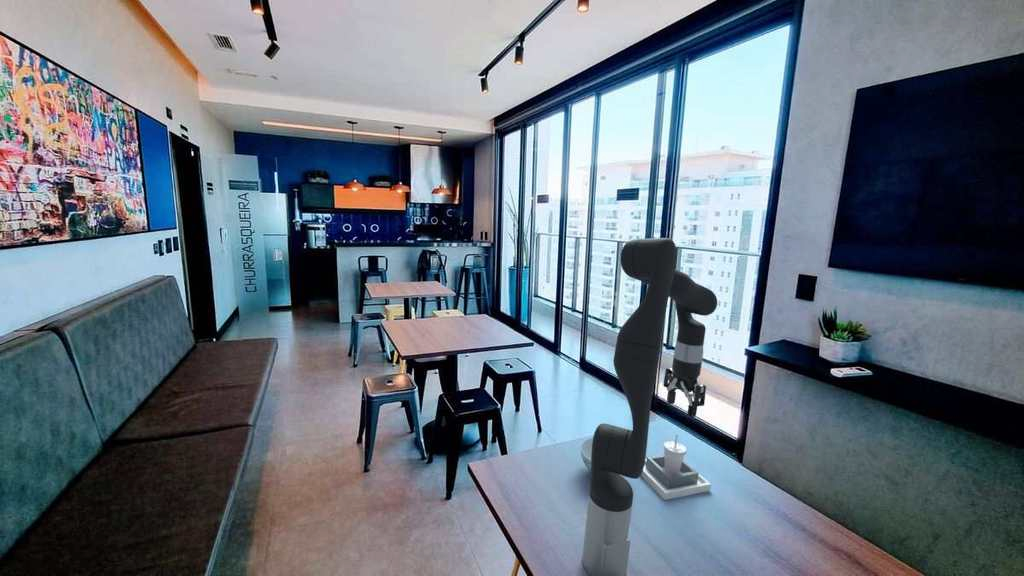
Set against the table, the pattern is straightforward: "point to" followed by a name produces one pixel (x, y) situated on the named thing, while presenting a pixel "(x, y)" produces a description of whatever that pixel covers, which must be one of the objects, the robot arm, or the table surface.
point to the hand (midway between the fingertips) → (680, 409)
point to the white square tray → (673, 479)
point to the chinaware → (587, 452)
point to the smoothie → (673, 456)
